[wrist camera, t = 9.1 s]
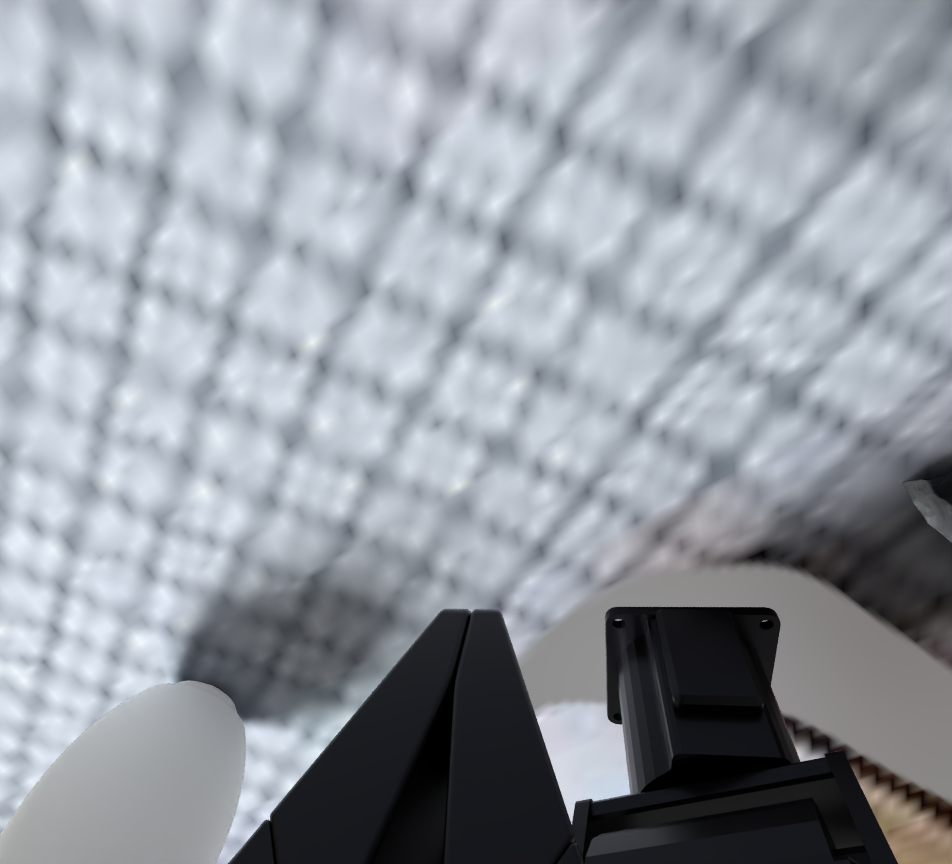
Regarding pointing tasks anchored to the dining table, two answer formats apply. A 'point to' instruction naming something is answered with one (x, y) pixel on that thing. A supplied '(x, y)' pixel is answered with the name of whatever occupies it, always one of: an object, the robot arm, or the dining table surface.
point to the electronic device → (934, 502)
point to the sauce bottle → (138, 785)
